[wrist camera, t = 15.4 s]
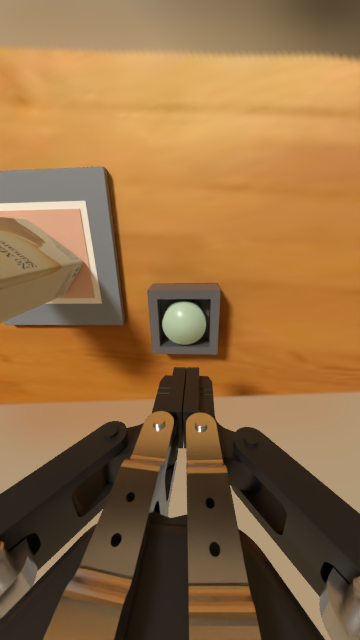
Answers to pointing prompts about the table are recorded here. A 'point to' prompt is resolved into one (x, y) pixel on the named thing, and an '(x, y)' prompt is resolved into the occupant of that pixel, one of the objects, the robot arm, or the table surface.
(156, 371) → the table surface
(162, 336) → the button housing
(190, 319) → the button
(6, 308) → the skincare box
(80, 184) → the picture board
